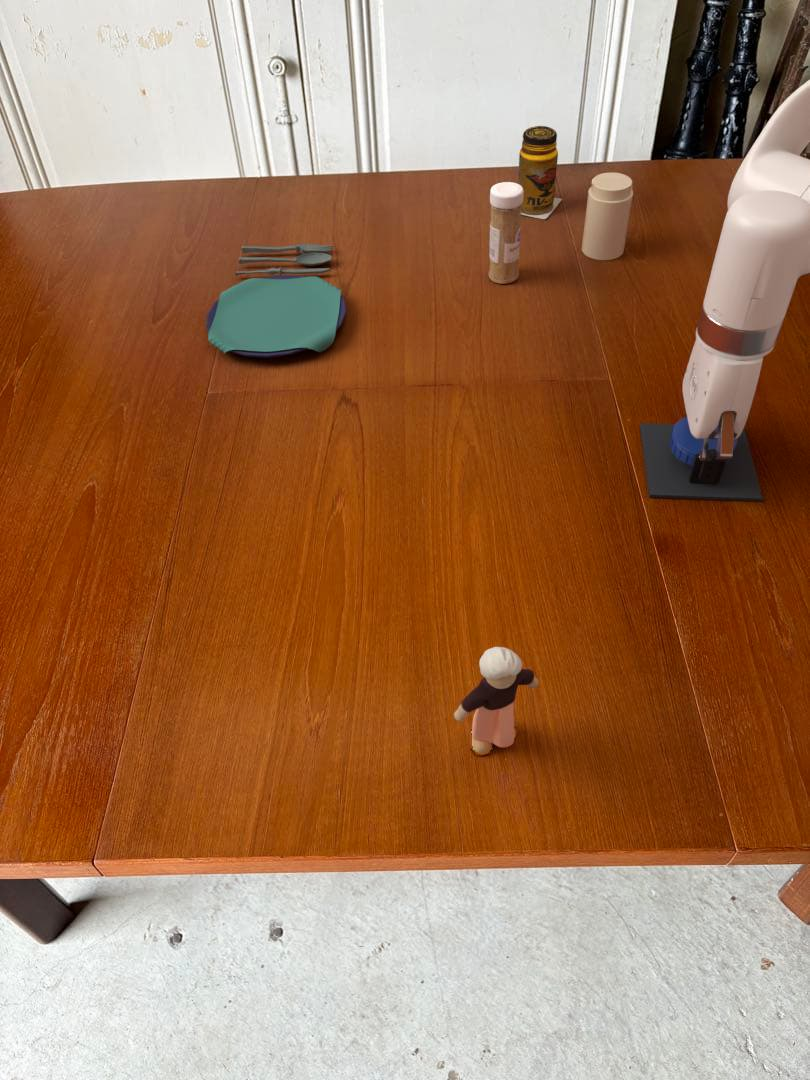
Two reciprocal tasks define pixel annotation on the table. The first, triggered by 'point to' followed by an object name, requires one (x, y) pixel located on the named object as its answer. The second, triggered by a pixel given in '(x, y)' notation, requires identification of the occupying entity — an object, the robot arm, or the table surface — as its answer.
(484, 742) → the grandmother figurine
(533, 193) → the condiment
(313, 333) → the cutlery set
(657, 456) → the mat
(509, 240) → the spice bottle
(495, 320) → the table surface
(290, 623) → the table surface
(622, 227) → the jar
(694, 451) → the lid
